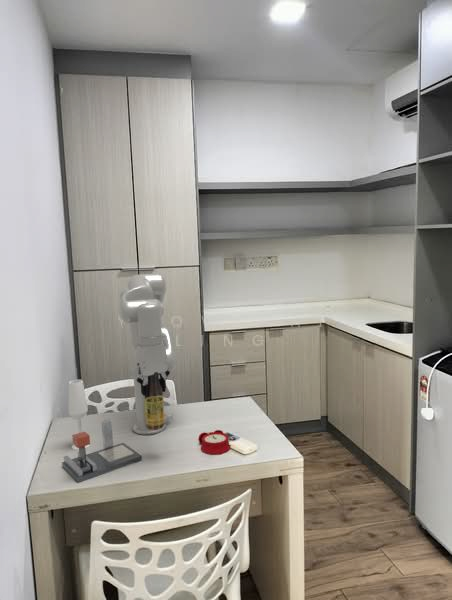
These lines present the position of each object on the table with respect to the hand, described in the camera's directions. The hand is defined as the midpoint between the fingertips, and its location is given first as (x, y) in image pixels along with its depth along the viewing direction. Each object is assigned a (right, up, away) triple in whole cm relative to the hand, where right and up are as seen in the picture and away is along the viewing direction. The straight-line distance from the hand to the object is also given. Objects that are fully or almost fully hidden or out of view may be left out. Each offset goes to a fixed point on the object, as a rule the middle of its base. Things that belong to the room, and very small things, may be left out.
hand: (153, 392), depth 156 cm
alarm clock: (+20, -21, +9) cm, 31 cm away
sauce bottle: (0, -12, +2) cm, 12 cm away
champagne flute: (-29, -22, +15) cm, 39 cm away
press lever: (-21, -23, -7) cm, 32 cm away
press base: (-17, -23, 0) cm, 29 cm away
